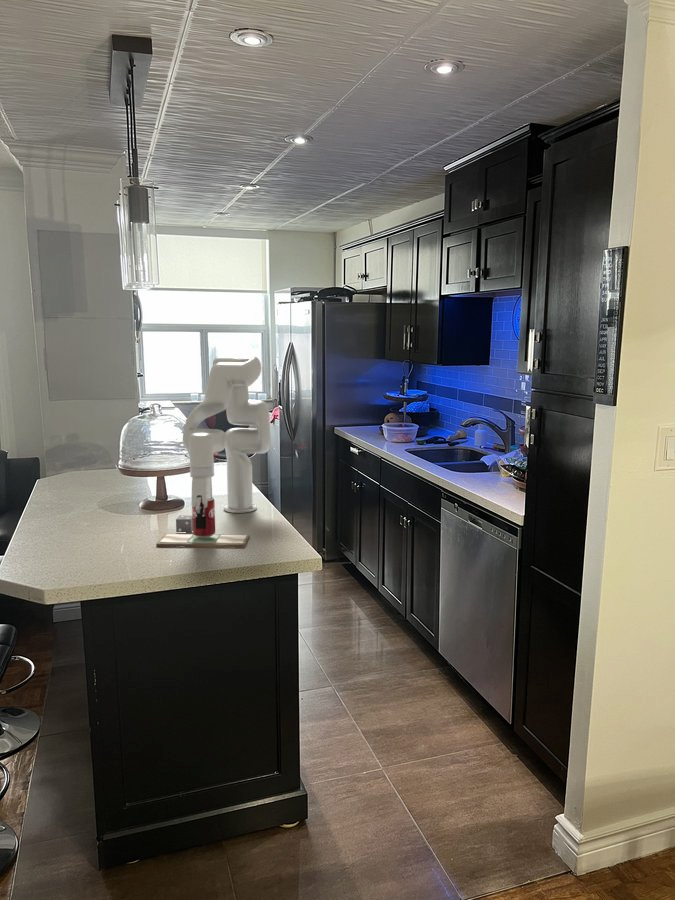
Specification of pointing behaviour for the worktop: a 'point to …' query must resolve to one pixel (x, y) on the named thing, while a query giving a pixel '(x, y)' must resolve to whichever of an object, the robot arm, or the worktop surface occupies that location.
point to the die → (184, 524)
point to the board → (203, 540)
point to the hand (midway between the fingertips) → (203, 524)
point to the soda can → (209, 520)
